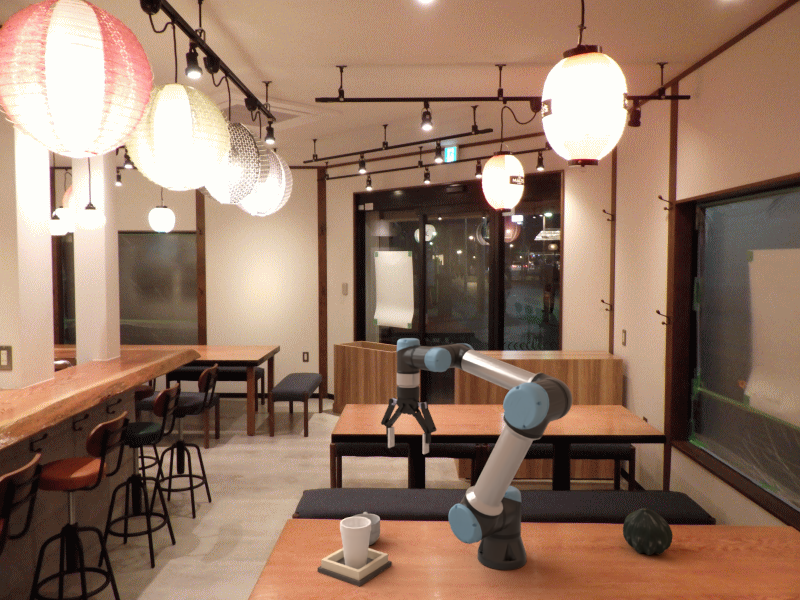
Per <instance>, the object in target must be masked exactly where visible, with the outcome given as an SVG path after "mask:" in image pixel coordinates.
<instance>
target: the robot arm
mask: <svg viewBox="0 0 800 600" xmlns="http://www.w3.org/2000/svg"><path fill="white" fill-rule="evenodd" d="M420 341H421V340H420V339H418V338H413V337H410V338H409V337H408V338H407V337H404V338H399V339H398V340H397V342H396V385H397V386H396V397H397V398H396V397H391V398H389V399H388V406H387V408H386V410H385V412H384V415H383V417H382V419H381V421H380V425H381V426H385V430H386V433H385V435H386V437H387V448H388V449H391V448H394V447H395V426H394V424H395V423H396V422H397V420H398V419H399V418H400V417H401V415H409V416H412V417H414V419H415V420H416V422H417V423H418V424H419V426H420V428H421V429H422V431H423V432H424V433H422V440H421V441H422V443H421V444H422V450H421V451H422V454H423V455H426V454H428V453H430V444H431V443H432V433H435V432H436V431H437V427H436V424H435V422H434V420H433V417H432V414H431V411H430V410H429V403H428V402H427V401H425V402H420V394H421V392H420V390H421V389H420V386H419V385H420V376H421V375H420V373H421V372H420V371H421V370H422V371H423V370H424V371H429V372H434V373H437V372H438V373H443V372H446V371H447V370H448V369H451V368H452V369H453V368H455V369H459V370H461V371H463V372H466V373H469V374H470V375H473V376H475V377H478V378H480V379H483V380H484V381H487V382H490V383H491V384H494V385H496V386H498V387H500V388H503V389H506V390H508V392H507V393H506V395H505V397H504V399H503V401H502V403H503V405H502V408H503V409H504V411H503V417H502V420H503V423H504V425H505V426H504V427H503V429H502V431H501V434H499V437H498V439H497V441H496V443H495V445H494V447H493V449H492V451H491V453H490V455H489V456H488V459H487V461H486V463H485V464H484V467H483V469H482V471H481V473H480V475H479V477H478V479H477V481H476V482H475V484H474V485H473V486H470V487H468V488H467V490H466V492H465V493H464V495H463V497H462V499H461V501H460V502H459V503H455V504H454V505H453V506H452V507H451V508H450V509H449V512H448V516H447V517H448V524H449V526H450V529H451V532H452V533H453V535H454V536H455V537H456V539H458V540H459V541H460V542H461V543H464V544H466V545H467V544H468V545H470V544H471V545H472V544H475V543H479V545H478V549H477V560H478V562H479V563H480V564H482V565H483V566H485V567H488V568H491V569H495V570H502V571H509V570H510V571H511V570H515V569H520V568H522V567H523V566H525V565H526V563H527V551H526V548H525V545H524V542H523V538H522V536H521V535H522V534H521V533H522V495H521V494H522V493H521V490H519V488H517V487H515V486H514V485H511V483H512V482H513V480H514V478H515V476H516V474H517V472H518V470H519V468H520V466H521V465H522V462H523V460H524V459H525V457H526V455H527V453H528V451H529V449H530V448H531V446H532V443H533V441H536V440H537V441H538V440H540V439H541V438H542V437H543V435H544V433H545V431H546V430H547V428H548V425H549V424H550V422H554V421H558V420H560V419H562V418H564V417H565V416H566V415H568V413H569V412H570V411H571V408H572V406H573V394H572V391H571V389H570V388H569V386H568V385H567V384H566V383H565V382H564V381H563V380H561V379H560V378H558V377H557V378H556V377H554V376H551V375H550V374H547V373H544V372H542V371H541V372H537V373H534V372H531V371H529V370H526V369H523V368H522V367H518V366H515V365H513V364H511V363H508V362H505V361H502V360H500V359H498V358H495V357H492V356H489V355H488V354H484V353H482V352H480V351H477V350H475V349H474V348H473V346H472V345H470V344H468V343H462V342H459V343H453V344H446V345H436V346H425V345H421V344H420V343H421V342H420ZM396 406H397V409H396V410H395V407H396ZM393 412H394V413H393ZM392 414H393V415H392Z"/></svg>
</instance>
